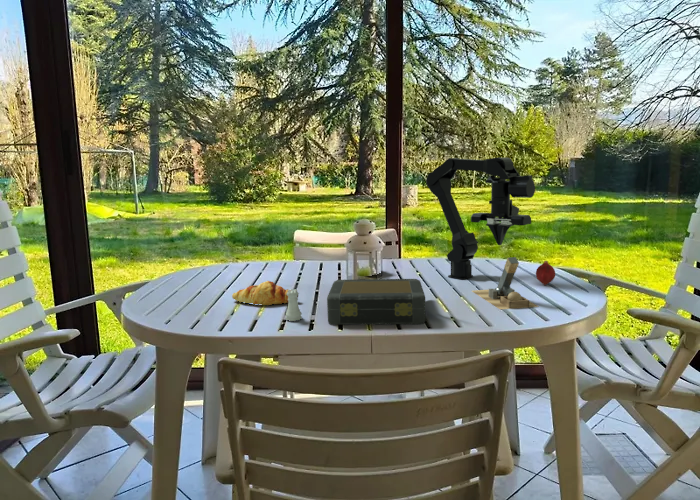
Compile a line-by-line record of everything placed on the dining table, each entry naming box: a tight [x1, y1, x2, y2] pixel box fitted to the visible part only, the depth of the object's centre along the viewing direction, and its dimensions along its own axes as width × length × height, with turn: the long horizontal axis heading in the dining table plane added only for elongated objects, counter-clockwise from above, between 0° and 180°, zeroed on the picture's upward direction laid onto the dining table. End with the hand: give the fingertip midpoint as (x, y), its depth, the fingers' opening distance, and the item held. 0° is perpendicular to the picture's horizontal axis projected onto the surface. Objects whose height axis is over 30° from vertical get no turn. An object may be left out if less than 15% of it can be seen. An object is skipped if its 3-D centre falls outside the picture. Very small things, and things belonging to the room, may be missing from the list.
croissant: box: [231, 280, 299, 306], centre depth 146 cm, size 21×10×8 cm, turn 80°
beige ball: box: [508, 291, 523, 301], centre depth 130 cm, size 4×4×4 cm
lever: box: [494, 256, 520, 297], centre depth 133 cm, size 5×3×14 cm
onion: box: [535, 260, 556, 286], centre depth 156 cm, size 6×6×8 cm
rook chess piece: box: [285, 288, 303, 322], centre depth 128 cm, size 4×4×8 cm
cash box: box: [326, 278, 426, 326], centre depth 131 cm, size 25×20×8 cm
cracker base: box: [471, 287, 540, 310], centre depth 137 cm, size 20×11×4 cm, turn 8°
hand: (499, 245), depth 158 cm, fingers closed
